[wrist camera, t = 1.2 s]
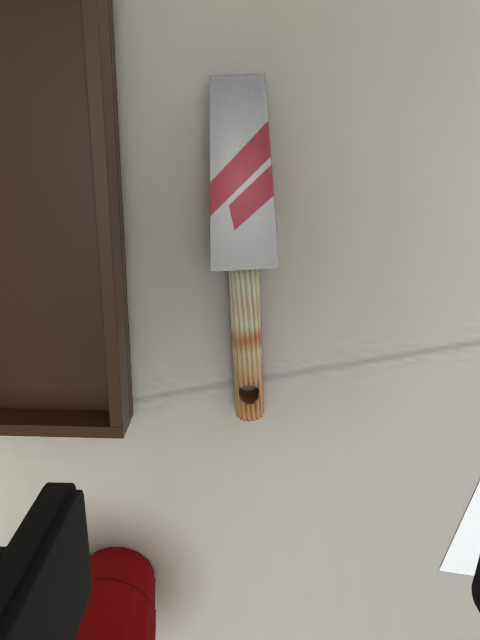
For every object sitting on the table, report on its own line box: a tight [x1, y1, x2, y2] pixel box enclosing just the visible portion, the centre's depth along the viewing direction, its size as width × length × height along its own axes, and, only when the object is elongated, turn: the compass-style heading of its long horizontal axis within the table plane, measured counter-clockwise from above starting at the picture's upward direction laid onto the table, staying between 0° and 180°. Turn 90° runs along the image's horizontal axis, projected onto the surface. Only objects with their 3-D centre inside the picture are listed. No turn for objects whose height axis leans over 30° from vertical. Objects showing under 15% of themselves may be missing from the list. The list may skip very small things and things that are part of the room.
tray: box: [0, 0, 133, 438], centre depth 25 cm, size 26×11×3 cm, turn 178°
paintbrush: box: [210, 74, 279, 422], centre depth 26 cm, size 4×3×20 cm
